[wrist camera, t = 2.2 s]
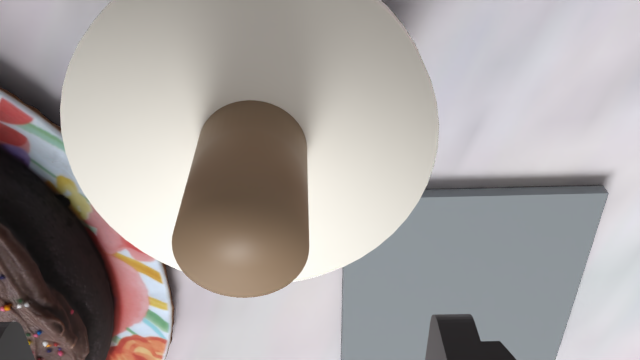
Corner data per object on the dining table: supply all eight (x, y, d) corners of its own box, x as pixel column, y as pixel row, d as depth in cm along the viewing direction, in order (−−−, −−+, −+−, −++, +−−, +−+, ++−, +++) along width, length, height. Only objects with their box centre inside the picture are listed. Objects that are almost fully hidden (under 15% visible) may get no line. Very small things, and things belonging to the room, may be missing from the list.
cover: (25, -51, 15) (-88, 23, 11) (452, -57, 16) (514, 13, 11) (111, 269, 22) (62, 401, 17) (417, 261, 22) (448, 390, 17)
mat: (344, 191, 27) (345, 199, 26) (602, 185, 27) (608, 193, 27) (341, 363, 33) (341, 372, 33) (549, 357, 34) (553, 366, 33)
